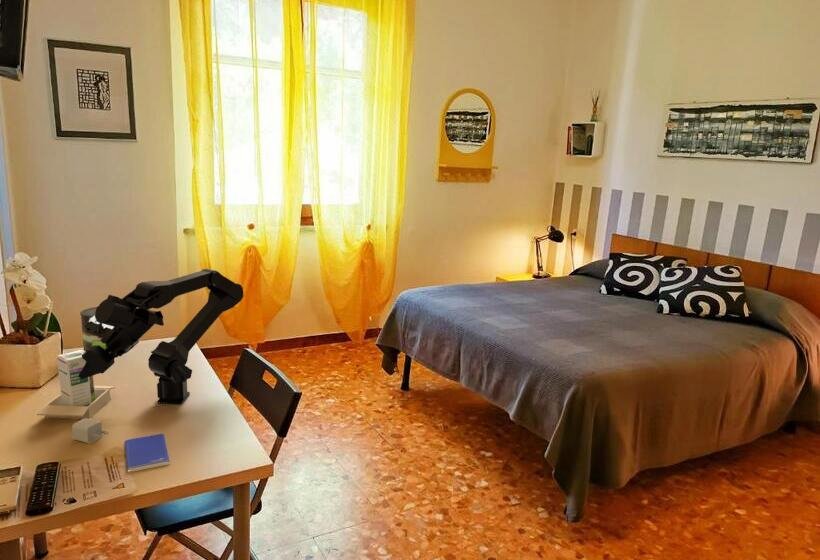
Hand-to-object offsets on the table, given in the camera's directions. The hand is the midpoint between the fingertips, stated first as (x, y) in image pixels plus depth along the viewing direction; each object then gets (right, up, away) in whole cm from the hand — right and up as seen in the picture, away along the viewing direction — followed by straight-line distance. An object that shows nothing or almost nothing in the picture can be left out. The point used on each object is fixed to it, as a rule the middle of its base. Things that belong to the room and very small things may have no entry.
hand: (89, 369), depth 140 cm
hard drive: (+22, -17, -16) cm, 31 cm away
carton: (-4, -10, +3) cm, 11 cm away
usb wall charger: (+7, -14, -11) cm, 20 cm away
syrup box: (-4, -10, +3) cm, 11 cm away
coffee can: (-18, -1, +38) cm, 42 cm away
